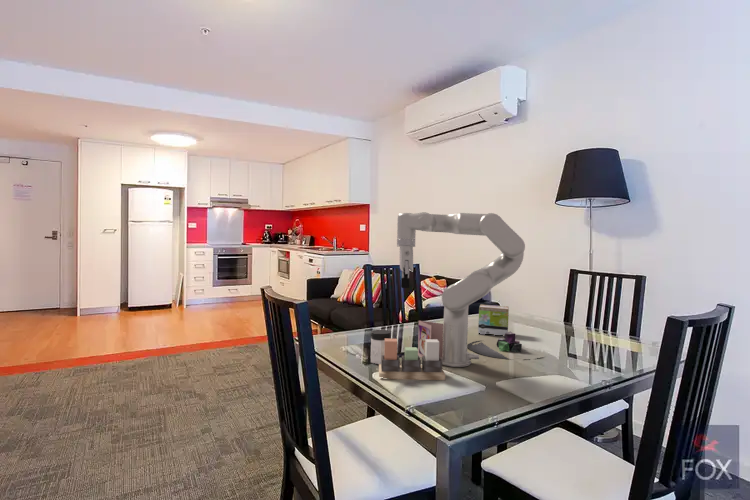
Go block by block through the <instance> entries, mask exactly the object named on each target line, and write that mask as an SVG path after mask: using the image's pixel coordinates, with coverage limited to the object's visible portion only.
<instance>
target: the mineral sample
mask: <svg viewBox="0 0 750 500" xmlns="http://www.w3.org/2000/svg"><path fill="white" fill-rule="evenodd" d="M503 337H504V338H503ZM503 337H500V338H498V339H497V341H496V344H495V345H496V347H497V348H498V349H499V351H496V350H494V349H493V348H491V347H489V346H488V345H486V344H485V343H484V342H483V341H481V340H475V341H472V342H469V343H467V350H468V349H469V350H471V352H474V353H476V354H479V355H483V356H485V357H489V358H495V359H496V358H497V359H503V360H511V361H512V360H513V359H511V358H509V357H508V356H506V355H504V354H502V353H500V352H514V353H518V354H519V353H520V354H521V353H522V351H523V350H522V347H523V344H522V343H520V341H519V340H518V339H516V333H513V332H512V331H508V332H507V333H505V336H503ZM543 358H544V357H536V360H539V359H543ZM530 360H531V358H530V359H529V358H528V359H523V361H530Z"/></svg>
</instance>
